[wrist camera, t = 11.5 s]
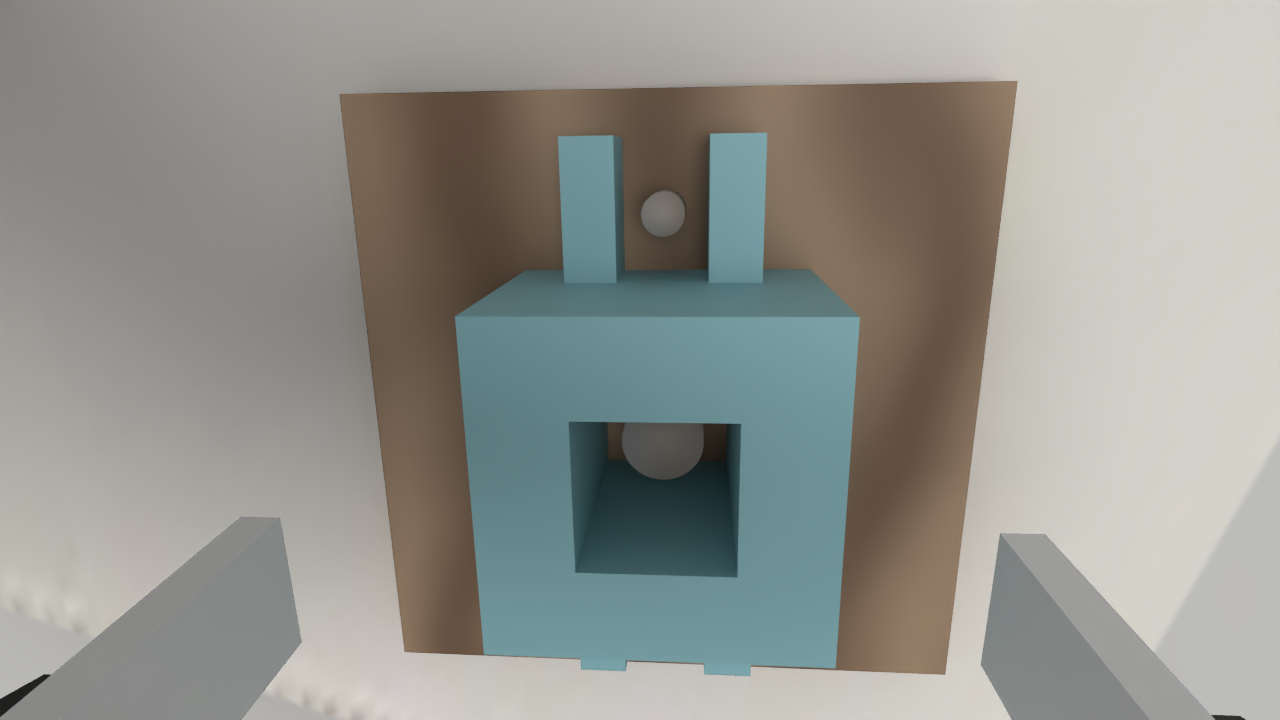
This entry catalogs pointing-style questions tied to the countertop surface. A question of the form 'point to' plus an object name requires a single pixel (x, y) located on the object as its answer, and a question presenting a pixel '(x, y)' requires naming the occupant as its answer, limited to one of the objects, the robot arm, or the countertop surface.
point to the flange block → (660, 393)
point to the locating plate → (678, 240)
